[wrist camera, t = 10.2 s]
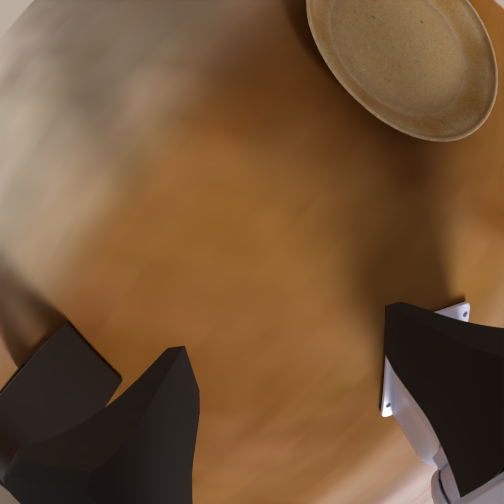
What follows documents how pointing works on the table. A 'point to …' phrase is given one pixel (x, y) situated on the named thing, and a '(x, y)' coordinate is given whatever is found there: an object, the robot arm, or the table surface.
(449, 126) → the plant saucer
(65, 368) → the phone stand
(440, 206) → the table surface
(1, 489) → the cylinder vase
